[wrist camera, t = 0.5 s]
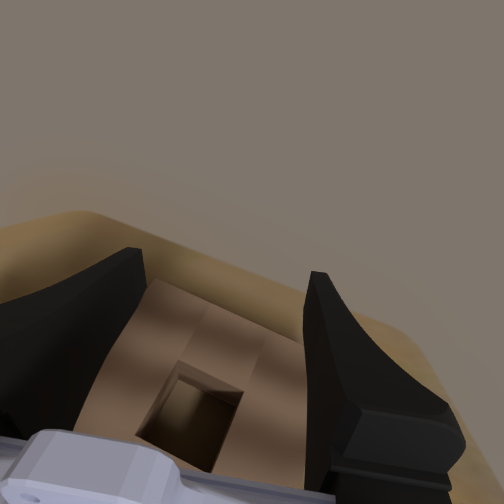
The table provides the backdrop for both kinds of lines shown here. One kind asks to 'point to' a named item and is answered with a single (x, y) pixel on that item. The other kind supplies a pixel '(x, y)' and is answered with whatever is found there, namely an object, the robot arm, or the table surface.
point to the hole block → (206, 383)
